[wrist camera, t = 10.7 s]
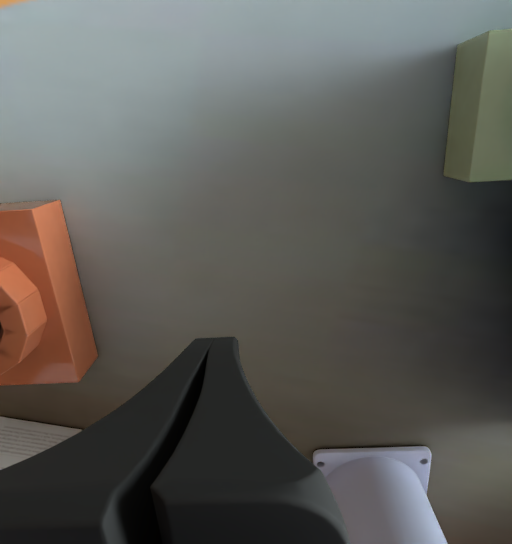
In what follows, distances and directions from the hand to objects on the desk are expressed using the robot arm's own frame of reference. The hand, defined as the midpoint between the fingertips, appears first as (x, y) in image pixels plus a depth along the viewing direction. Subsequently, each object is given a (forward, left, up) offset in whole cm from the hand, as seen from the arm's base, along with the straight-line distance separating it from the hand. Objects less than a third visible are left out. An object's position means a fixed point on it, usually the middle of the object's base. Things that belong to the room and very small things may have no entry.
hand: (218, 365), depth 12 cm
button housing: (-1, +14, -10) cm, 17 cm away
